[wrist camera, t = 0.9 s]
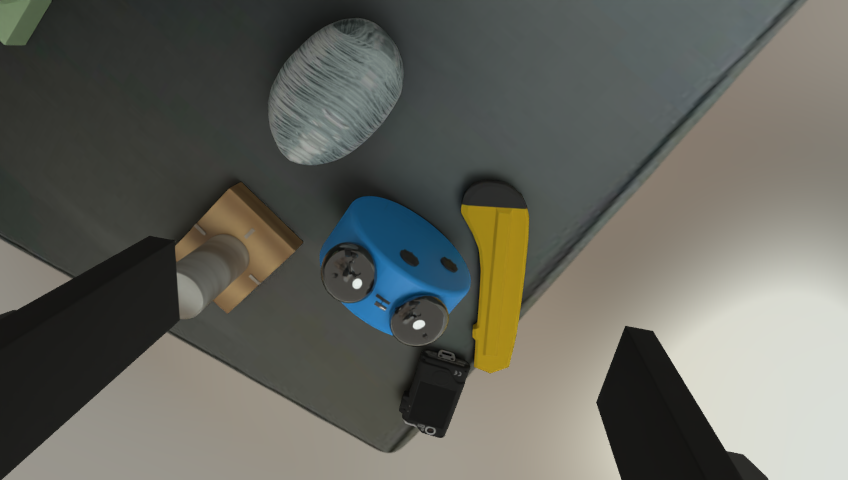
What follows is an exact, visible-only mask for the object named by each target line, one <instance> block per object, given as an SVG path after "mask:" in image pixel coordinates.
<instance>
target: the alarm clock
mask: <svg viewBox="0 0 848 480" xmlns="http://www.w3.org/2000/svg"><path fill="white" fill-rule="evenodd" d="M320 266H321V279H322V283H323V285H324V287H325V289H326V291H327V292H328V293H329V294H330V295H331V296H332V297H333V298H334V299H336V300H338V301H340V302H342V303H343V304H344V305H345V306H346V307H347V308H348V309H349V310H350V311H351V312H352V313H354V314H355V315H356V316H357V317H359V318H360V319H361V320H363V321H364V322H366V323H367V324H369V325H371V326H372V327H374V328H376V329H378V330H380V331H382V332H385V333H387V334H390V335H393V336H394V337H395V338H396V339H397V340H398V341H399V342H401V343H402V344H405V345H407V346H412V347H420V346H425V345H428V344H431V343H433V342H434V341H436V340H437V339H438V338H439V337H440V336H441V335H442V334H443V333H444V331H445V329H446V327H447V325H448V320H449V313H450V312H451V311H452V310H453V309H454V308H455V306H456V305H457V304H458V303H459V302H460V301H461V300H462V299H463V297H464V296H465V295H466V294H467V293H468V291H469V289H470V286H471V277H470V273H469V270H468V268H467V265H466V263H465V261H464V260H463V258H462V257H461V255H460V254H459V252H458V251H457V250H456V248H455V247H454V246H453V245H452V244H451V243H450V241H449V240H448V239H447V238H446V237H445V236H444V235H443V234H442V233H441V232H439V231H438V230H437V229H436V228H435V227H434V226H433V225H431V224H430V223H429V222H427V221H426V220H425V219H423V218H422V217H420V216H419V215H417V214H416V213H414V212H413V211H411V210H409V209H408V208H406V207H404V206H402V205H400V204H398V203H395V202H393V201H390V200H388V199H384V198H381V197H375V196H363V197H360V198H357V199H355V200H354V201H353V202H352V203H351V205H350V206H349V208H348V209H347V211H346V212H345V214H344V215H343V217H342V218H341V219H340V221H339V222H338V224H337V225H336V227H335V228H334V230H333V231H332V233H331V234H330V236H329V237H328V239H327V240H326V242H325V243H324V245H323V246H322V249H321V251H320Z"/></svg>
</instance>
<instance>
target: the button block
mask: <svg viewBox="0 0 848 480" xmlns="http://www.w3.org/2000/svg"><path fill="white" fill-rule="evenodd" d="M51 2H52V0H0V41H1V42H2V43H3V44H4V45H26V43H27V42H28V40H29V38H30V37H31V35H32V33H33V32H34V30H35V28H36V27H37V25H38V23H39V22H40V20H41V18H42V17H43V15H44V13H45V12H46V10H47V8H48V7H49V5H50V3H51Z"/></svg>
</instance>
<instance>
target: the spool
mask: <svg viewBox="0 0 848 480" xmlns="http://www.w3.org/2000/svg"><path fill="white" fill-rule="evenodd" d="M403 81H404V69H403V64H402V59H401V56H400V53H399V51H398V48H397V46H396V44H395V43H394V41H393V40H392V39H391V37H390V36H389V35H388V34H387V33H386V32H385V31H384V30H383V29H382V28H381V27H380V26H378V25H377V24H375V23H374V22H371V21H369V20H366V19H362V18H350V19H343V20H339V21H337V22H334V23H332V24H329V25H327V26H325V27H324V28H322V29H321V30H319V31H317V32H316V33H315V34H313V35H312V36H311V37H309V38H308V39H307V40H306V41H305V42H304V43H303V44H302V45H301V46H300V47H299V48H298V49H297V50H296V51H295V52H294V53H293V54H292V55H291V56H290V57H289V58H288V60H287V61H286V62H285V64H284V65H283V66H282V68H281V69H280V71H279V73H278V75H277V77H276V79H275V81H274V83H273V85H272V88H271V91H270V95H269V100H268V117H269V123H270V128H271V132H272V135H273V137H274V139H275V141H276V144H277V146H278V148H279V149H280V151H281V152H282V153H283V154H284V155H285V156H286V157H287V158H288V159H289V160H290V161H293V162H295V163H298V164H303V165H319V164H325V163H329V162H332V161H336V160H338V159H340V158H342V157H344V156H346V155H348V154H349V153H351V152H352V151H354V150H355V149H356V148H358V147H359V146H360V145H361V144H363V143H364V142H365V141H366V140H367V139H368V138H369V137H370V136H371V135H372V134H373V133H374V132H375V131H376V130H377V129H378V128H379V127H380V126H381V124H382V123H383V122H384V120H385V119H386V118H387V116H388V115H389V114H390V112H391V111H392V109H393V108H394V106H395V104H396V102H397V100H398V99H399V97H400V94H401V91H402V87H403Z"/></svg>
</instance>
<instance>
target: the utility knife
mask: <svg viewBox="0 0 848 480" xmlns="http://www.w3.org/2000/svg"><path fill="white" fill-rule="evenodd" d="M461 213H462V215H463V217H464V219H465V220H466V222H467V224H468V226H469V228H470V229H471V231H472V233H473V235H474V238H475V240H476V243H477V246H478V248H479V257H480V266H481V275H480V295H479V308H478V321H477V323H475V324H474V325H473V334H472V337H473V338H474V339H475V340H476V343H475V358H474V367H476V368H478V369H481V370H483V371H486V372H488V373H493V372H496V371H499V370H502V369H504V368H507V367H509V364H510V360H511V355H512V352H513V348H514V343H515V338H516V333H517V327H518V321H519V314H520V307H521V300H522V292H523V284H524V276H525V267H526V257H527V247H528V234H529V214H528V210H527V206H526V203H525V201H524V199H523V196H522V194H521V193H519V192H518V191H517V190H516V189H515V188H514V187H513V186H511V185H509V184H507V183H505V182H501V181H495V180H481V181H478V182H475V183H473V184H472V185H471V186H470V187H469V188H468V189H467V190H466V191H465V194H464V197H463V200H462V207H461Z"/></svg>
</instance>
